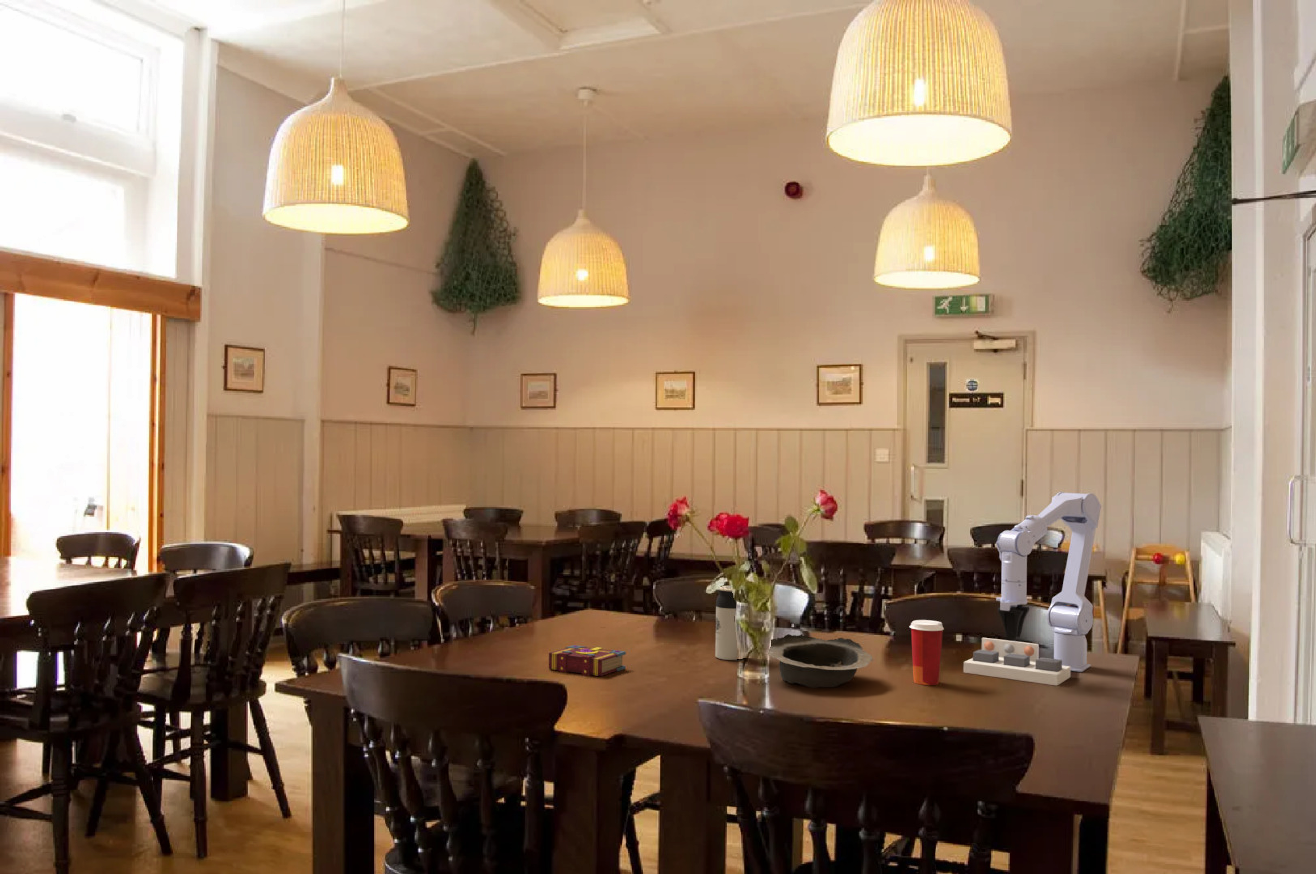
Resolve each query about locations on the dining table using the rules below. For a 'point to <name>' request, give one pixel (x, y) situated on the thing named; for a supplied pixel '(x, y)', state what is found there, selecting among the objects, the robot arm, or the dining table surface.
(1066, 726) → the dining table surface
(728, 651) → the travel mug
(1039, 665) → the button cup side
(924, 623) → the paper cup
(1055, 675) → the button board
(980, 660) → the button mug side
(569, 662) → the decorative book
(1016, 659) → the button middle
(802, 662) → the stone bowl
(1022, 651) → the card
